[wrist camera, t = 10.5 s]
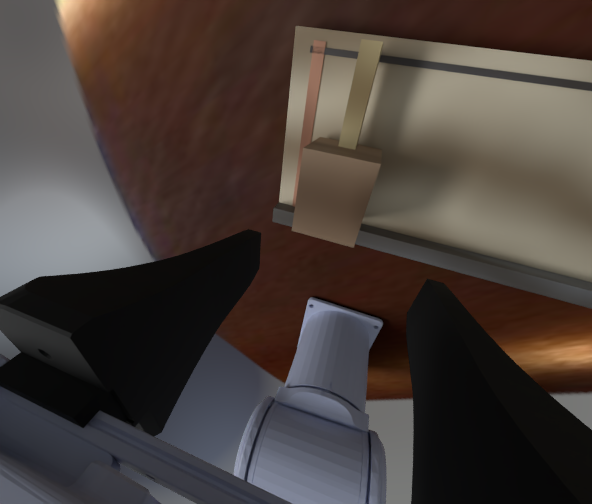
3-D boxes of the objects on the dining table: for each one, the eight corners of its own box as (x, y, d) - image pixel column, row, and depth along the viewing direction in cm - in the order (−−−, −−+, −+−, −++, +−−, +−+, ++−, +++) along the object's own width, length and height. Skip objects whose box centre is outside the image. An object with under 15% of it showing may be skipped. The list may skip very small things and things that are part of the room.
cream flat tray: (660, 309, 17) (701, 341, 14) (283, 210, 21) (272, 223, 19) (962, 111, 10) (1128, 116, 7) (303, 31, 14) (289, 20, 12)
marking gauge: (359, 220, 18) (353, 247, 15) (307, 207, 18) (291, 230, 15) (413, 51, 12) (423, 36, 9) (336, 42, 13) (320, 24, 10)
